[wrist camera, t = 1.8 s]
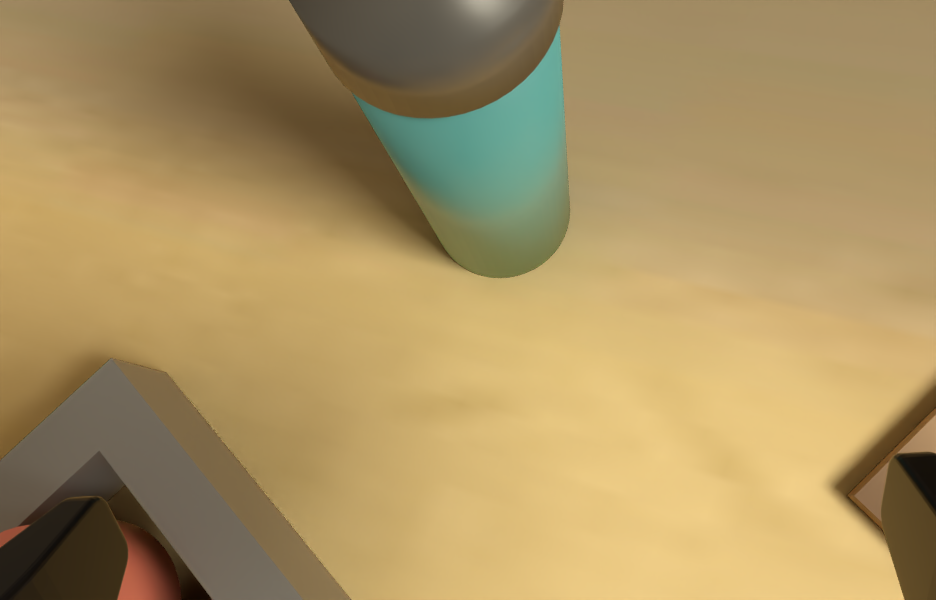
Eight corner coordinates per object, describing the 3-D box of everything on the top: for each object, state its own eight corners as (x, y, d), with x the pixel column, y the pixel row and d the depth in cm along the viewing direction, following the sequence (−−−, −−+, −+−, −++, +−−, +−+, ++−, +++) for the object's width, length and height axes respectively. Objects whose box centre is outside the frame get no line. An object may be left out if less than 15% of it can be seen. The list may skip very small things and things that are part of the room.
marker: (498, 310, 24) (401, 114, 11) (402, 213, 25) (216, -66, 12) (603, 211, 24) (624, -90, 12) (504, 118, 25) (422, -251, 13)
